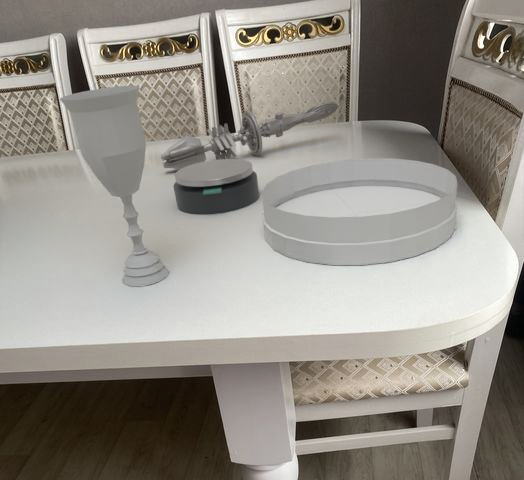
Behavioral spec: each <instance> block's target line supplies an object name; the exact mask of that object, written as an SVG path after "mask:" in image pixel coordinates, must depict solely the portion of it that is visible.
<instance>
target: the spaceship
mask: <svg viewBox="0 0 524 480" xmlns="http://www.w3.org/2000/svg"><path fill="white" fill-rule="evenodd" d="M338 109H339V105H338V103H337V102H334V101H327V102H323V103H320V104H316V105H313V106H310V107H308V108H307V109H306V110H305V111H302V112H298V113H284V114H283V112H282V111H279V112H276V113H275V115H274V117H272V118H269V119H265V120H263V121H262V122H260V124H258V121H257V119H256V117H255V115H254V114H253V113H252V111H250V110H249V109H245V110H244V111H243V112H242V115H241V127H240V128H239V130H238V131H237V134H235V135H232V134H231V132H230V131H229V126H228V125H229V124H228V123H227V122H226V123H223V126H222V125H221V124H220V125H217V127H216V126H213V127H211V129H210V128H209V129H206V131H207V132H208V134H209V135H210V136H211V137H210V138H211V139H208V143H205V144H203V143H202V141H201V139H200V138H197V137H193V136H191V135H185V136H184V137H183V138H181V139H180V140H178V141H177V142H175V143H174V144H173V145H171V146H170V147H169V148H167V150H166V151H164V153H162V154H160V156H159V157H160V160H161V161H162V163H161V165H163V169H174V170H180V169H182V168H184V167H186V166H189V165H192V164H196V163H200V162H205V161H207V156H206V153H207V152H210V151H211V152H212V153H213V155H214V156H215V160H220V159H232V157H234V158H236V157H238V155H237V154H236V153H235V151H233V150H232V147H236V146H237V145H236V142H240V144H241V146H243V147H245V146H246V145H247V147H248V149H249V150H250V151H251V153H252V154H253V155H254V156H260V155H262V152H263V138H270V137H271V136H274V135H275V137H276V138H281V137H283V135H284V132H286V131H289V130H290V129H293V128H294V127H296V126H298V125H302V124H305V123H309V124H310V123H314V122H316V121H317V122H318V121H321V120H324V119H326V118H328V117H330V116H331V115H333V114H334V113H336V111H338ZM262 137H263V138H262ZM163 161H164V162H163Z"/></svg>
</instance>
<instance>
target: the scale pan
mask: <svg viewBox="0 0 524 480" xmlns="http://www.w3.org/2000/svg"><path fill="white" fill-rule="evenodd" d="M253 171H254V169H253V164H252V162H250V160H246V159H239V158H230V159H228V158H225V159H220V160H216V159H212V160H205V161H204V162H200V163H196V164H192V165H189V166H186V167H184V168H182V169H177V171H176V172H175V173H174V179H175V182H177V183H178V184H180V185H184V186H191V187H206V186H215V185H222V184H227V183H231V182H235V181H238V180H241V179H243V178H245V177H247V176H249V175H250V174H251V173H252V172H253Z"/></svg>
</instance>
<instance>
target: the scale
mask: <svg viewBox="0 0 524 480" xmlns="http://www.w3.org/2000/svg"><path fill="white" fill-rule="evenodd" d="M258 181H259V180H258V174H257V172H255V171H254V170H253V172H252V173H251V174H250V175H249V176H247V177H245V178H243V179H241V180H238V181H235V182H231V183H227V184H222V185H215V186H206V187H191V186H184V185H180V184H178V183H177V182H176V181H175V182H174V183H173V186H172V187H173V192H174V196H175V201H176V207H177V209H178V210H179V211H180V212H182V213H184V214H189V215H198V216H202V215H203V216H205V215H206V216H208V215H209V216H210V215H218V214H226V213H230V211H231V212H234V211H235V212H236V211H238V210H242V209H244V208H247V207H249V206H251V205H253V204H254V203H256V202H257V201H258V200H259V198H260V192H259V182H258Z"/></svg>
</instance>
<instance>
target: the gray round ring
mask: <svg viewBox="0 0 524 480" xmlns="http://www.w3.org/2000/svg"><path fill="white" fill-rule="evenodd" d="M457 192H458V180H457V175H455V174H454V173H452V171H450V170H449V169H448V168H445V167H442V166H440V165H436V164H433V163H429V162H424V161H419V160H411V159H404V158H381V157H379V158H378V157H373V158H354V159H346V160H345V159H344V160H336V161H329V162H323V163H318V164H317V163H316V164H312V165H309V166H305V167H301V168H298V169H294V170H291V171H289V172H286V173H284V174H281V175H279V176H276V177H275V178H274V179H272V180H270V181H269V182H268V183H266V184H265V186H264V187H263V188H262V190H261V200H262V208H263V213H262V214H261V217H262V224H263V231H264V240H265V242H266V243H267V244H268V245H269V247H270V248H271V249H272V250H273V251H275V252H277V253H279V254H281V255H283V256H285V257H287V258H291V259H294V260H297V261H301V262H305V263H309V264H319V265H327V266H366V265H367V266H368V265H376V264H387V263H393V262H397V261H401V260H405V259H410V258H415V257H417V256H420V255H422V254H425V253H427V252H430V251H432V250H435V249H437V248H438V247H440V246H442V244H444V243H446V242H447V241H448V240H450V239H451V237H452V235H453V234H454V232H455V230H456V222H457V220H456V219H457V211H458V206H457V202H456V201H457V199H456V198H457Z"/></svg>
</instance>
